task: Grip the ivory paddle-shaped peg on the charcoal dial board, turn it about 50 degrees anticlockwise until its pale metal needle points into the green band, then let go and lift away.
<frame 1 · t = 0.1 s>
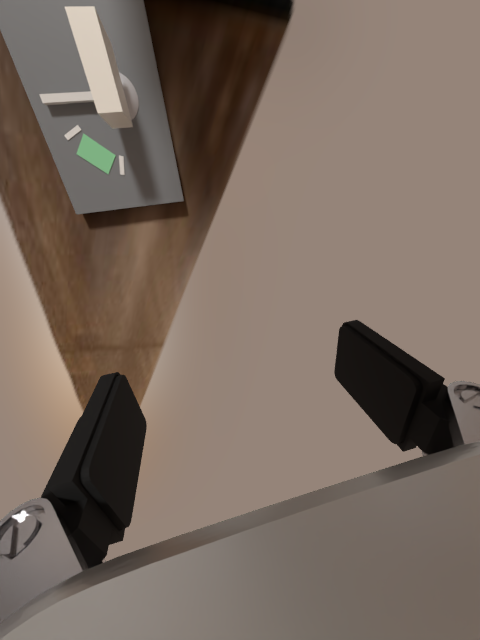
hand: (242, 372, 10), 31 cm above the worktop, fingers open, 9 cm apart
dial board: (104, 105, 27), on the worktop
tuning peg: (72, 83, 22), point 6 cm above the worktop, hinge at 0.0°
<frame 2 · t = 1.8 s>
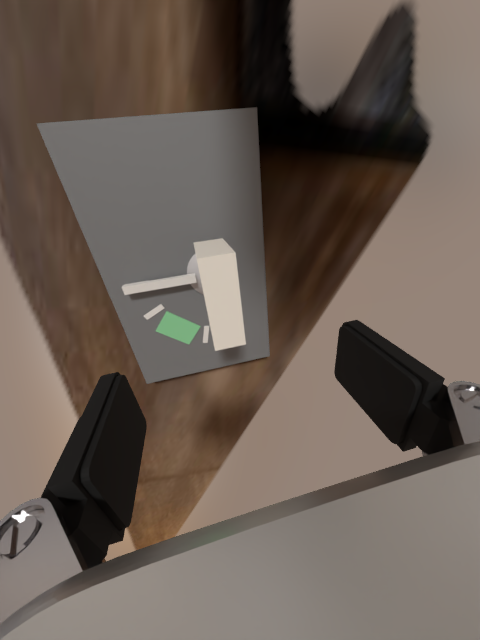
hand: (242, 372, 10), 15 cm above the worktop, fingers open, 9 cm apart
dial board: (189, 270, 22), on the worktop
tuning peg: (174, 295, 17), point 6 cm above the worktop, hinge at 0.0°
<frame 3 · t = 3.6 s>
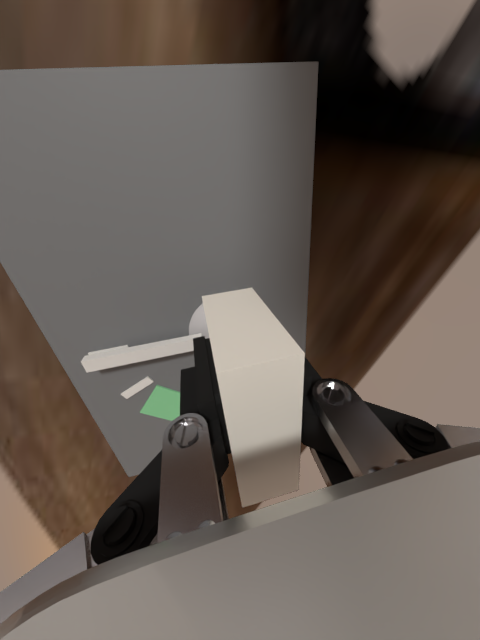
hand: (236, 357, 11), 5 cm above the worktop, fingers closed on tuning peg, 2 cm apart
dial board: (191, 320, 15), on the worktop
tuning peg: (167, 389, 9), point 6 cm above the worktop, hinge at 0.0°, touching gripper
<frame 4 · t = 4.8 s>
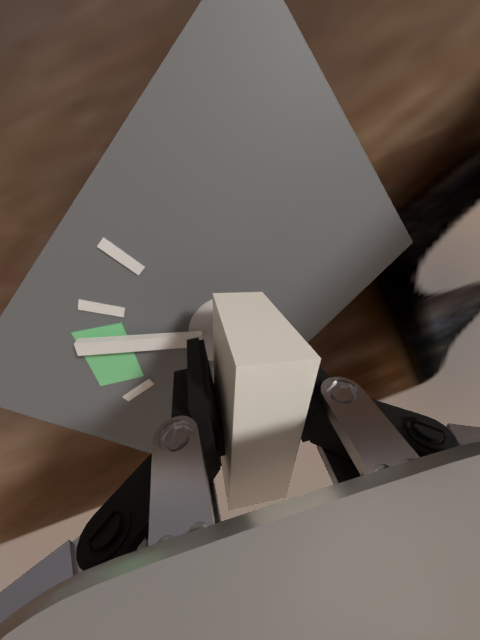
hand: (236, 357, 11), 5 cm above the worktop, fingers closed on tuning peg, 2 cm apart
dial board: (198, 298, 14), on the worktop
tuning peg: (165, 382, 9), point 6 cm above the worktop, hinge at 40.3°, touching gripper
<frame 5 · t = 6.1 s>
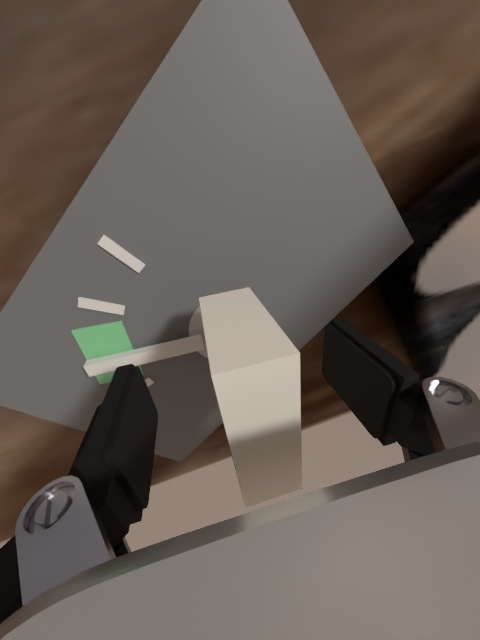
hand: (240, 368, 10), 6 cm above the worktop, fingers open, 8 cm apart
dial board: (198, 296, 14), on the worktop
tuning peg: (168, 391, 10), point 6 cm above the worktop, hinge at 51.5°
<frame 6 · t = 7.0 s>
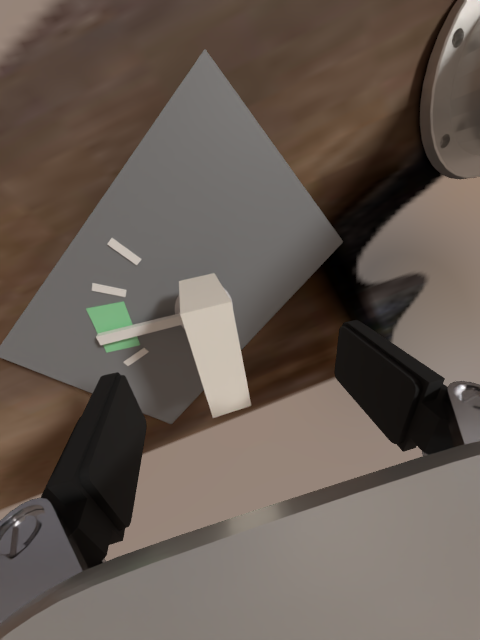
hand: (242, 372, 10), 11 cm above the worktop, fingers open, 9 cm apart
dial board: (182, 285, 18), on the worktop
tuning peg: (159, 347, 14), point 6 cm above the worktop, hinge at 52.5°
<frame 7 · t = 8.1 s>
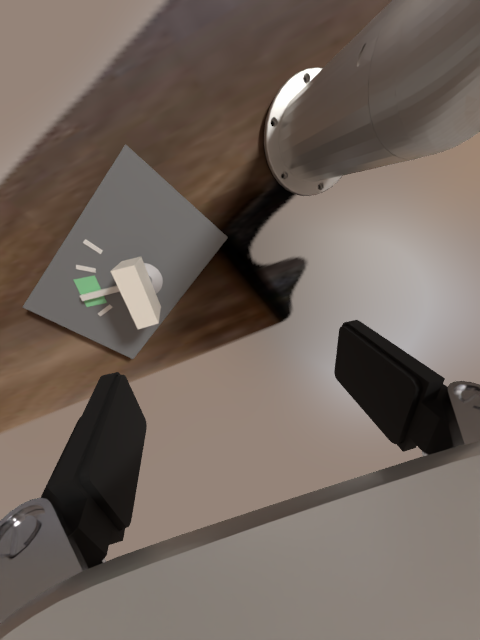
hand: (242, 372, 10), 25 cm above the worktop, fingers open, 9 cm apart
dial board: (132, 267, 30), on the worktop
tuning peg: (111, 296, 25), point 6 cm above the worktop, hinge at 52.9°
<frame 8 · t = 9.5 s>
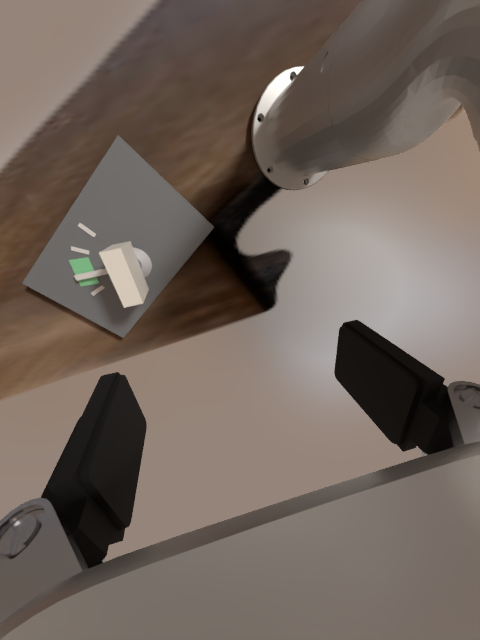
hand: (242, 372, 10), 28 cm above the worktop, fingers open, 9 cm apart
dial board: (124, 251, 32), on the worktop
tuning peg: (102, 277, 28), point 6 cm above the worktop, hinge at 53.1°
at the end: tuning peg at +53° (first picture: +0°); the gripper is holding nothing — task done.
